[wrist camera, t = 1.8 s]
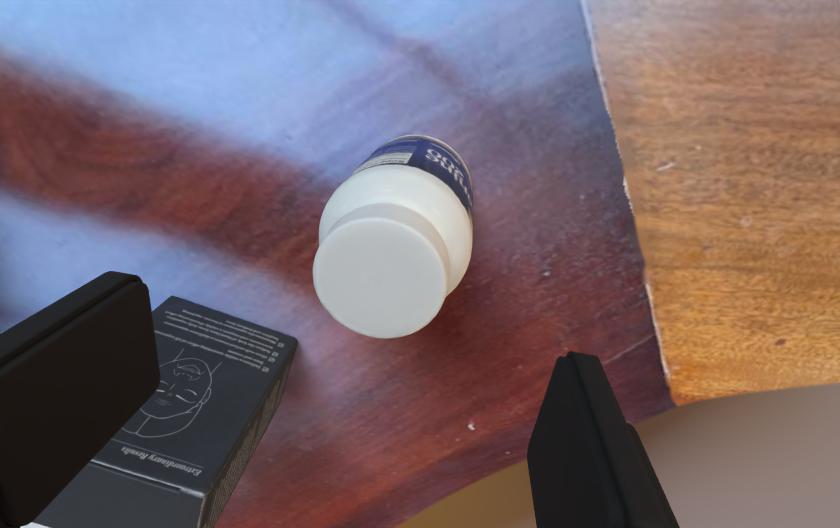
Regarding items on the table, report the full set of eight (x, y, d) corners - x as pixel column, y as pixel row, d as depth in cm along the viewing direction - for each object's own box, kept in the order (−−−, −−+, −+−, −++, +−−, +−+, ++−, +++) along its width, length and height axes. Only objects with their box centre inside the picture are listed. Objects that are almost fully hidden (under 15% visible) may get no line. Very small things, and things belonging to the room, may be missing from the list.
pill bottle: (488, 219, 22) (498, 331, 13) (390, 254, 23) (341, 376, 15) (448, 113, 20) (427, 161, 11) (344, 157, 21) (254, 232, 13)
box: (165, 363, 28) (10, 520, 19) (173, 291, 26) (-2, 431, 16) (282, 403, 29) (188, 578, 19) (301, 337, 26) (205, 499, 17)
